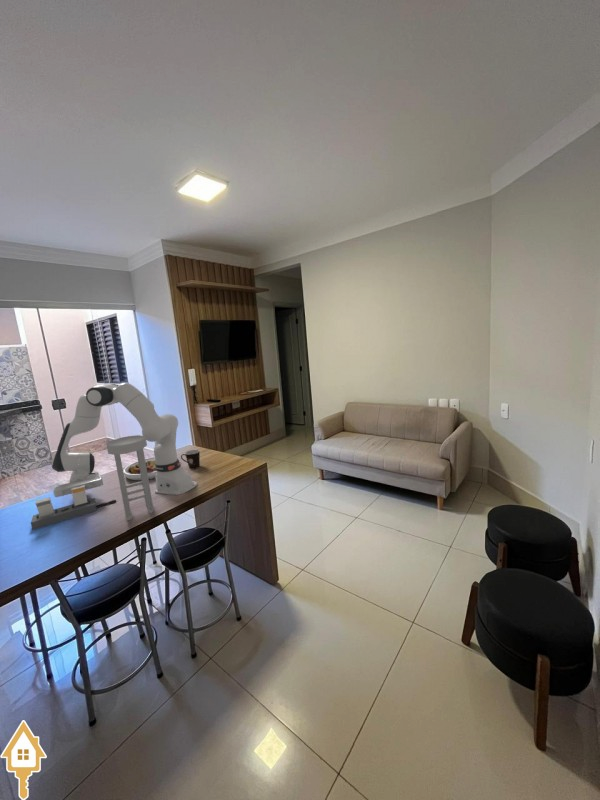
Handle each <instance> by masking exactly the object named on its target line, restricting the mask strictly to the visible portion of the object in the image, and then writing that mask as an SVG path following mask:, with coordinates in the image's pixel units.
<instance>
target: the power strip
mask: <svg viewBox="0 0 600 800" xmlns="http://www.w3.org/2000/svg"><path fill="white" fill-rule="evenodd" d="M113 503H117V500H116V499H113V500H110V501H109V500H108V501H106V502H103V503H98V504H97V502H96V498H95V497H93V498H89V499H87V503H83V504H80V505H76V506H75V505H74V503H72V504H70V505H65V506H62V507H58V508H55V509H54V508H53V509H54V513H51V514H47V515H44V516H40V515H39V513H37V514H33V516H32V519H31V521H30V525H31V530H32V531H34V530H38V529H41V528H44V527H47V526H51V525H55V524H57V523H61V522H63V521H66V520H67V521H68V520H71V519H74V518H77V517H80V516H85V515H87V514H90V513H94V512H97V508H100V507H103V506H107V505H110V504H113Z"/></svg>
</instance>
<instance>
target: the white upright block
mask: <svg viewBox="0 0 600 800" xmlns="http://www.w3.org/2000/svg"><path fill="white" fill-rule="evenodd" d="M71 490H72V500H73V504H74V505H75V506H76V505H80V504H83V503H87V500H88V497H87V491H86V490H85V487H84V486H81V487H77V488H73V489H71Z"/></svg>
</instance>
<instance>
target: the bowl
mask: <svg viewBox="0 0 600 800" xmlns="http://www.w3.org/2000/svg"><path fill="white" fill-rule="evenodd" d="M145 462H146V468H147V474H148V480H152V479H156V474H157V471H156V468H155V463H156V462H155V456H153V457H148V458H145ZM123 473H124V477H126V478H127V479H129V480H131V481H142V480H141V474H140V469H139V463H138V460H137V461H134V462H133V463H130V464H129V465H127V466H125V468H123Z"/></svg>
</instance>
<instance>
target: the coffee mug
mask: <svg viewBox="0 0 600 800" xmlns="http://www.w3.org/2000/svg"><path fill="white" fill-rule="evenodd" d="M183 456H185V457H186V460H185V459H184V458H183ZM200 457H201V456H200V449H191V450H188V451H186V452H184V453H182V454H181V455H180V458H181V460H183V462H185V463H187V465H188V469H190V470H196V469H198V468H200V464H201V462H200V461H201V460H200Z"/></svg>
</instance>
